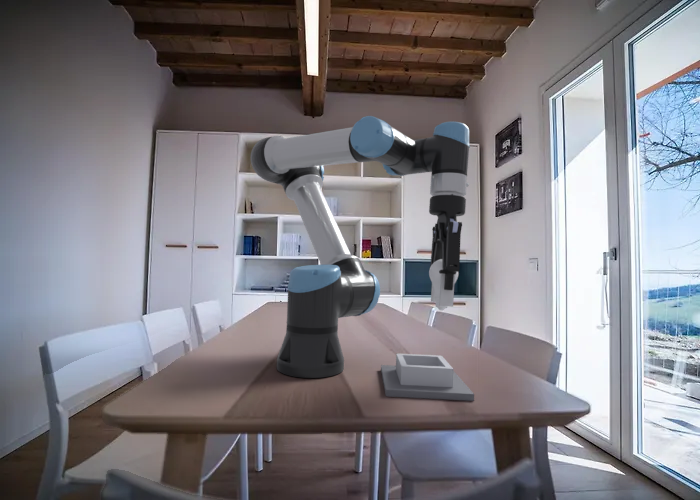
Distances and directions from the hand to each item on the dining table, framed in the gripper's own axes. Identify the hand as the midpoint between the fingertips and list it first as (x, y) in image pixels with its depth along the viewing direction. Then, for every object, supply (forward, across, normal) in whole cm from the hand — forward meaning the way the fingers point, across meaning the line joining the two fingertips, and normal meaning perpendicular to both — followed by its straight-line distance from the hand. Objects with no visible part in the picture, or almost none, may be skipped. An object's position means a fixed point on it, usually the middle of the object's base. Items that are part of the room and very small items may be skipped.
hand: (441, 303), depth 76 cm
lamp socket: (+16, -3, +4) cm, 17 cm away
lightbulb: (+2, 0, 0) cm, 2 cm away
